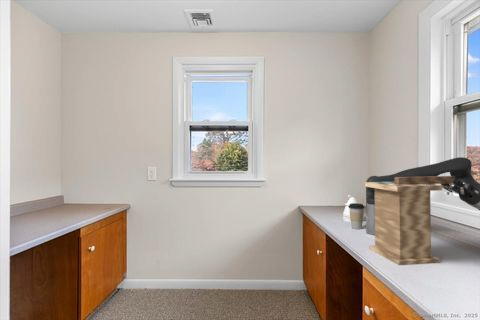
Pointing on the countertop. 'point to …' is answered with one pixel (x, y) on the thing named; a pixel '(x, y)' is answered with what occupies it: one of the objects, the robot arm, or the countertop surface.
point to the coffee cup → (356, 215)
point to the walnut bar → (424, 180)
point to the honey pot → (347, 211)
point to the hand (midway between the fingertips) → (445, 179)
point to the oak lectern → (403, 222)
